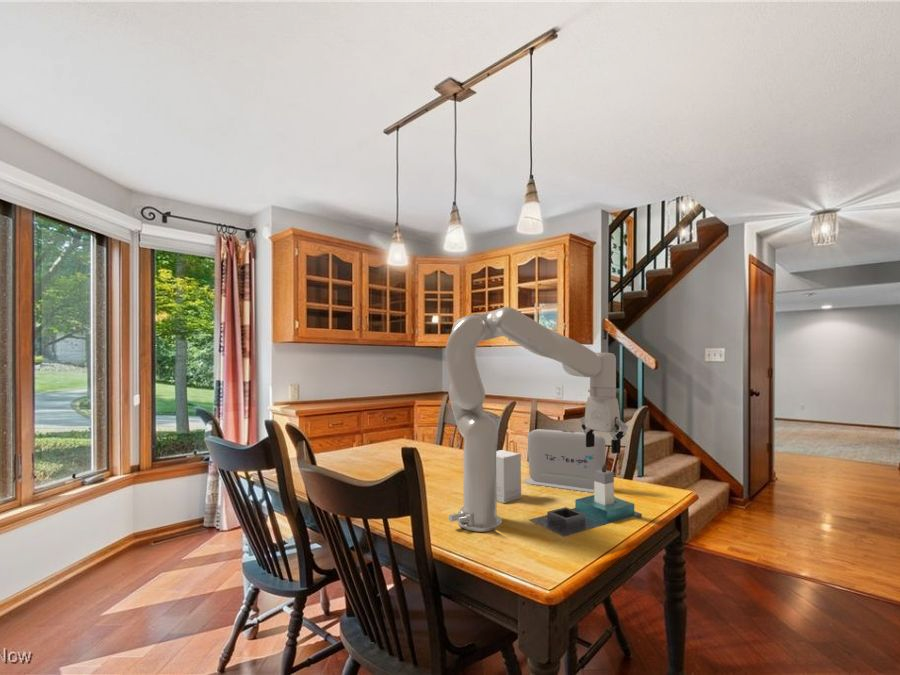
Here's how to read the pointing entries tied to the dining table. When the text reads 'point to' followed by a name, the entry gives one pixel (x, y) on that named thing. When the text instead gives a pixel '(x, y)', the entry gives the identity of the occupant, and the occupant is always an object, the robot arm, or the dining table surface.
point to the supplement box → (508, 476)
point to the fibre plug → (604, 486)
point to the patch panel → (585, 516)
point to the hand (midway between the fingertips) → (602, 449)
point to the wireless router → (564, 459)
